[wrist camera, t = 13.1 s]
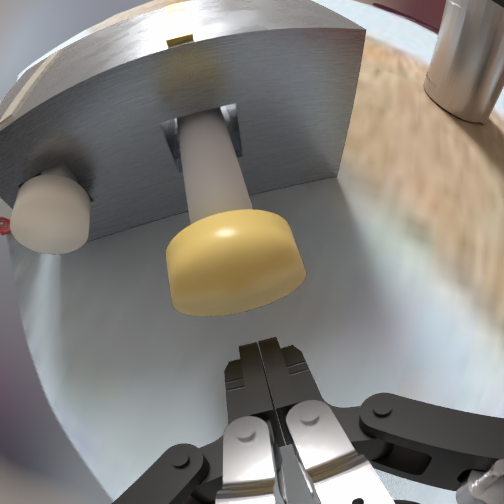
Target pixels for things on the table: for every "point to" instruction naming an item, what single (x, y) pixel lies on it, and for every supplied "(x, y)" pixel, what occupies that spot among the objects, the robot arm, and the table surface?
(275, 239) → the mustard knob
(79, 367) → the table surface
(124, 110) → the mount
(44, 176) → the ivory knob
